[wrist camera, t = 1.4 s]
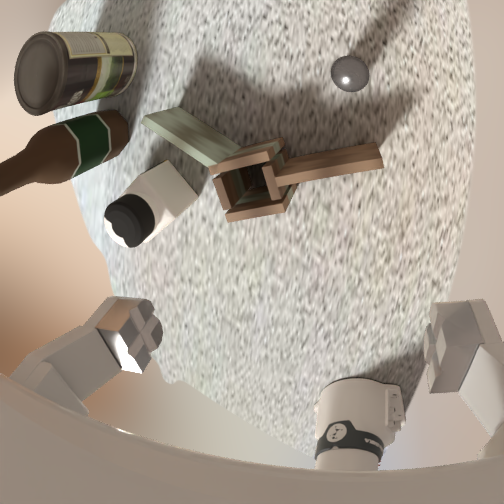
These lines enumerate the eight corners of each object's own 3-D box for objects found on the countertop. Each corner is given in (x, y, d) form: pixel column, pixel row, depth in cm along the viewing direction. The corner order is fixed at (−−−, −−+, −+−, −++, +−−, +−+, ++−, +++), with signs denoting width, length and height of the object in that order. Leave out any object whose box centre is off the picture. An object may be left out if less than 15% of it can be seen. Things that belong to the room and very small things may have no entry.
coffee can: (142, 89, 38) (68, 103, 26) (90, 103, 41) (19, 124, 29) (134, 22, 33) (59, 17, 21) (83, 44, 36) (10, 51, 24)
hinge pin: (367, 81, 31) (376, 80, 21) (345, 93, 32) (345, 98, 22) (352, 59, 30) (354, 49, 20) (330, 72, 31) (323, 67, 21)
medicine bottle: (168, 158, 42) (115, 187, 33) (200, 196, 44) (155, 236, 34) (140, 186, 46) (89, 220, 36) (169, 222, 48) (124, 263, 38)
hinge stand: (208, 205, 44) (182, 231, 38) (173, 108, 38) (139, 118, 32) (381, 172, 35) (388, 195, 29) (352, 55, 29) (354, 48, 23)
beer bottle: (120, 99, 40) (-24, 144, 20) (138, 146, 43) (3, 216, 23) (87, 120, 43) (-43, 172, 23) (104, 163, 46) (-18, 233, 26)
